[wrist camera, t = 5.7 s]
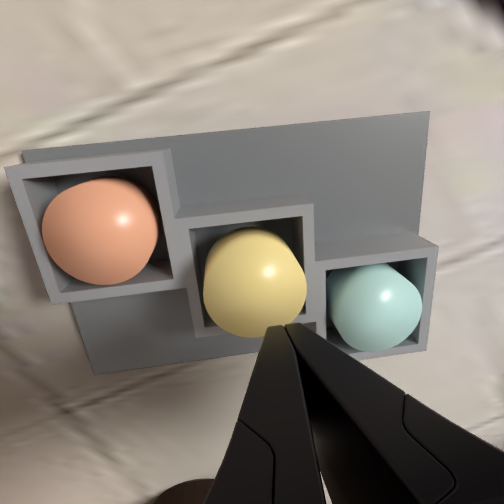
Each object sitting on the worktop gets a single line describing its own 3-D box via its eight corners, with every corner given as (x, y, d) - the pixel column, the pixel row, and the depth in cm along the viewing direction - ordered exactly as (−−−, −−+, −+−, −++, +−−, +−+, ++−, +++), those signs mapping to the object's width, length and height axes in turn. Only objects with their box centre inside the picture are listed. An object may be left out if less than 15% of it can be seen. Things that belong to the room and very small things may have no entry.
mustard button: (291, 221, 12) (305, 238, 10) (295, 302, 13) (308, 330, 12) (199, 232, 12) (195, 251, 10) (211, 313, 13) (210, 344, 11)
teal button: (398, 251, 14) (426, 270, 12) (393, 319, 16) (418, 345, 14) (321, 260, 14) (337, 281, 12) (322, 329, 15) (337, 357, 13)
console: (423, 111, 13) (466, 108, 11) (405, 326, 17) (434, 356, 15) (27, 149, 12) (-15, 155, 10) (97, 369, 16) (77, 408, 14)
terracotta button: (152, 170, 12) (141, 178, 10) (169, 257, 13) (162, 278, 11) (56, 180, 12) (26, 190, 10) (82, 267, 13) (59, 290, 11)
